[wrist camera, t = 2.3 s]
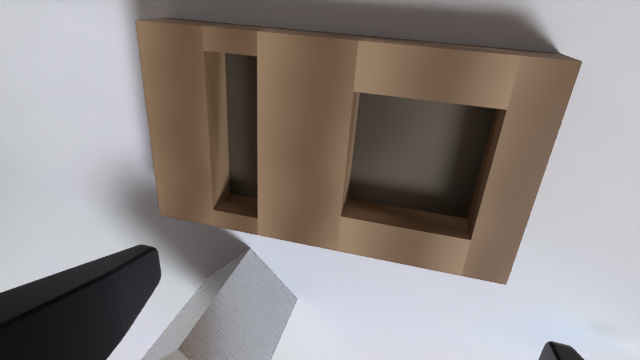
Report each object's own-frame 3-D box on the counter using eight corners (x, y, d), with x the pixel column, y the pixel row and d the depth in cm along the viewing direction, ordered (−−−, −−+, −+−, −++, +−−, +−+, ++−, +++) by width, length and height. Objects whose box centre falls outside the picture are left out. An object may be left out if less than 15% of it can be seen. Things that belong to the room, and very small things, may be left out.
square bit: (251, 324, 27) (188, 438, 20) (206, 277, 26) (124, 379, 19) (297, 298, 25) (246, 415, 18) (250, 247, 24) (177, 348, 17)
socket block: (184, 195, 24) (160, 215, 21) (168, 18, 19) (135, 19, 17) (497, 253, 20) (505, 284, 18) (560, 53, 16) (581, 61, 14)
